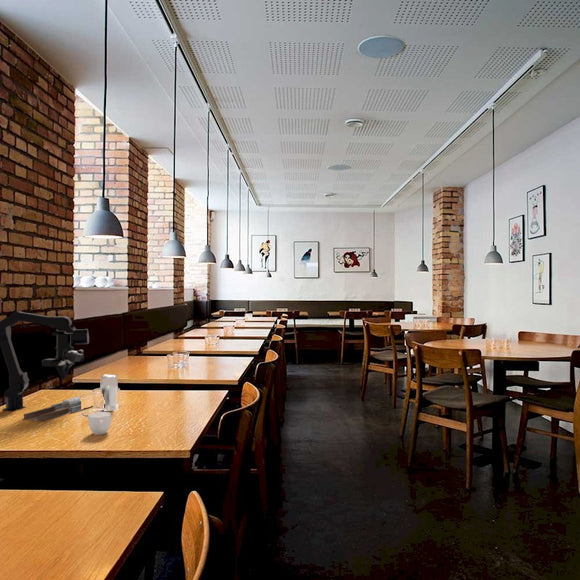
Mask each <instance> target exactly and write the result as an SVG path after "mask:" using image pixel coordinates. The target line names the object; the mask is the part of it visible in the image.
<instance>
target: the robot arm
mask: <svg viewBox="0 0 580 580" xmlns="http://www.w3.org/2000/svg"><path fill="white" fill-rule="evenodd" d="M20 322H25V323H32V324H40V325H45V326H49V327H51V328H52V329H53V328H54V329H55V330H54V331H53V332H52V333H51V336H56V346H55V347H54V350H56V356H54V358H45V359H42V361H41V367H49V368H50V367H51V368H52V367H55V369H56V370H57V372H58V374H59V375H60V377H61V379H62V380H64V381H65V380H66V379H67V376H68V373H69V371H70V369H71V367H72V366H74V365H75V363H77V362H84V361H85V353H84V350H83V349H78V350H74V346H72V344H73V343H74V345H88V344H89V343H90V334H89V329H88V328H84V329H77V328H76V327H75V326H74V325H73V323H72V322H73V321H72V319H71V318H70V317H69V316H62V315H60V316H58V315H57V316H49V315H43V314H42V315H41V314H35V313H30V312H24V311H21V310H20V311H15V312H13V314H11V315H9V316H7V317H5V318H3V319H1V320H0V349H1V352H2V354H3V357H4V361H5V364H6V367H7V370H8V374H9V375H8V384H9V387H8V388H7V389H5V391H4V392H3V394H4V395H3V396H4V397H5V407H4V408H2V410H3V411H8V412H15V411H18V410H22V409H25V408H27V407H26V406H24V397H23V396H24V395H23V393H24V390H26V389H27V388H28V386H29V381H30V379H29V376H28V372H27V371H25V372H23V371H22V369H21V368H20V364H19V361H18V357H17V354H16V352H15V349H14V346H13V342H12V327H13V326H15V325H16V324H18V323H20Z"/></svg>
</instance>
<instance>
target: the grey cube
mask: <svg viewBox="0 0 580 580" xmlns="http://www.w3.org/2000/svg"><path fill="white" fill-rule="evenodd" d="M61 403H62V409H64V408H69V411H70V410H71V408H72V407H75V406H77V399H70V398H67V399H64V400H62V402H61Z"/></svg>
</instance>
